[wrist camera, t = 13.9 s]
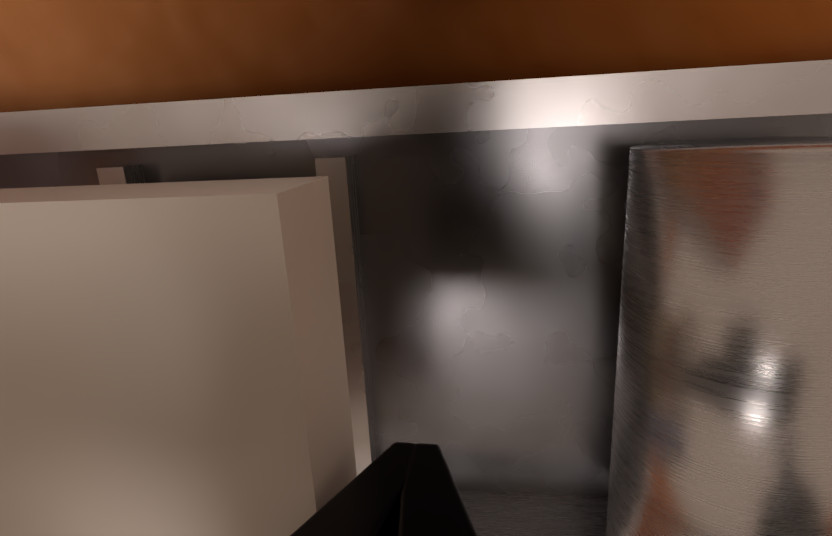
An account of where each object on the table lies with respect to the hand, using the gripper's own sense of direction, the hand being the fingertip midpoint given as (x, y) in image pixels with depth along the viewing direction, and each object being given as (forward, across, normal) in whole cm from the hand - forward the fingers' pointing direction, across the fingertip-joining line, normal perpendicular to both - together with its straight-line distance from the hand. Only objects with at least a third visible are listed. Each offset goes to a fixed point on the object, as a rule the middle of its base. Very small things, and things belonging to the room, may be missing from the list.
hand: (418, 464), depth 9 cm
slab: (0, +6, 0) cm, 6 cm away
